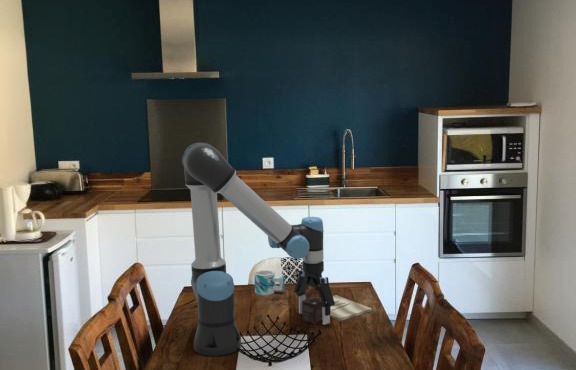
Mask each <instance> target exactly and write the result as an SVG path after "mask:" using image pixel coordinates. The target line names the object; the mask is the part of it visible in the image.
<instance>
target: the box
mask: <svg viewBox="0 0 576 370" xmlns="http://www.w3.org/2000/svg"><path fill="white" fill-rule="evenodd" d="M322 306H324V305H323V302H322V300H321V298H320V297H319V298H318V297H315V296H310V297H308V298H306V299H305V300H303V301H302V314H301V315H302V316H301V317H302V318H301V320H302V321H304V322H307V323H308V322H309V323H312V324H317V323H319V322H321V321H323V320H322Z"/></svg>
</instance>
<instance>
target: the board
mask: <svg viewBox="0 0 576 370" xmlns="http://www.w3.org/2000/svg"><path fill="white" fill-rule="evenodd" d="M332 296H333V299H334V302H335V305H333V306H331V307H330V318H331V319H333V320H335V321H338V322H341V321H345V320H347V319H351V318H355V317H358V316H361V315H364V314H367V313H371V312H372V311H373V309H372V308H371V307H369V306H365V305H364V304H361V303H358V302H355V301H353V300H350V299H348V298H345V297H342V296H340V295H337V294H335V295H332ZM326 303H327V302H326Z"/></svg>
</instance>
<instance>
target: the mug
mask: <svg viewBox="0 0 576 370" xmlns="http://www.w3.org/2000/svg"><path fill="white" fill-rule="evenodd" d="M277 283H279V284H277ZM284 290H285V276H275V271H273V270H270V269H261V270H256V271H255V272H254V293H255V295H258V296H269V295H273V294H275V292H276V291H280V292H283V291H284Z"/></svg>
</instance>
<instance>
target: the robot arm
mask: <svg viewBox="0 0 576 370" xmlns="http://www.w3.org/2000/svg"><path fill="white" fill-rule="evenodd" d="M181 162H182V164H181V165H182V166H183V168H184V169H183V171H184V183H185V186H186V187H187V188H188V189H189V190H190V199H191V200H190V202H191V203H190V205H191V215H192V229H193V231H192V232H193V243H194V255H195V258H194V260H193V262H191V264H190V265H191V279H190V284H191V289H192V292H193V293H194V295H195V299H196V302H197V303H196V304H197V319H198V320H197V323H198V325H197V328H196V332H195V336H194V339H193V351H195V353H198V354H199V355H202V356H208V357H209V356H210V357H219V356H220V357H221V356H226V355H230V354H232V353H234V352H236V351H238V350H237V349H236V348H239V349H241V347H240V346H242V344H241V343H242V339H241V335H240V333H239V330H238V328H237V327H238V326H237V325H236V321H235V318H236V314H235V283H234V279H233V276H232V275H231V274H229V273H227V266H226V265H227V263H226V260H225V259H224V258H222V254H221V240H220V225H219V224H220V222H219V207H218V194H220V195H221V196H223V197H224V198H225V199H226V200H227V201H228V202H230V203H231V204H232V206H234V207H235V208H236V209H237V210H238V211H240V212H241V214H243V216H245V217H246V218H247V219H249V221H251V222H252V223H253V224H254V225H255V226H256V227H258V228H259V230H261V231H262V232H263V233H264V234H265V235H267V241H268V246H269V247H270V248H271V249H282V250H283V251H284V252H286V254H287V255H288V256H289V257H291V258H293V259H296V260H300V259H302V269H301V270H299V271H298V276H297V281H296V283H295V287H294V290H293V292H294V293H295V294H296V295H297V303H298V314H300V315H302V301H303V300H305V299H307V298H306V291H307V290H308V289H309V287H312V288H314V290H315V291H316V292H317V294H318V295H319V298H320V299H321V300H322V302H323V305H324V306H322V320H321V321H322V325H324V326H325V325H328V324H330V323H331V319H330V318H331V317H330V307H331V306H333V305H335V302H334V299H333V296H334V295H333V293H332V291H331V287H330V284H329V277H327V276H325V277H323V275H322V274H323V272H324V268H325V266H324V265H325V264H324V231H325V230H324V223H323V222H324V221H323V218H320V217H319V216H318V217H317V216H307V217H303V218H302V219H301V222H300V223H298V224H290V223H289V222H288V221H287V220H286V219H285V218H283V217H282V215H280V213H278V212H277V211H276V210H275V209H274V208H272V206H271V205H269V204H268V203H267V202H266V201H265V200H264V199H263V198H262V197H260V196H259V194H257V193H256V192H255V191H254V190H253V189H252V188H251V187H249V185H247V183H245V181H243V180H242V179H241V178H240V177H239V176H238V175H237V170H236V169H235V168H234V167H233V166H232V165H230V163H229V162H228V161H227V160H226V159H225V158H224V156H223V155H222V154H221V152H220V150H218V149H217V148H215V147H214V146H213V145H212V144H209V143H208V142H196V143H192V144H191V145H189V146H188V147H187V148H186V149H185V151H184V153H182V158H181ZM326 302H327V303H326Z"/></svg>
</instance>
